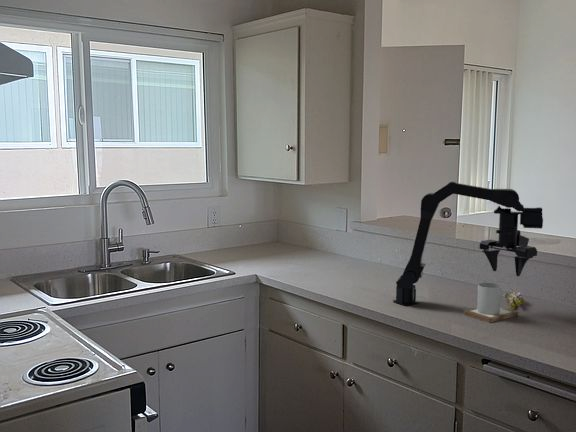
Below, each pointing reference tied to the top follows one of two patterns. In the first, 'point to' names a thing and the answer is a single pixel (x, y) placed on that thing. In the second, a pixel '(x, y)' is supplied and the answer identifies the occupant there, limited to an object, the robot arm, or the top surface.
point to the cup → (489, 298)
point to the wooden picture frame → (491, 318)
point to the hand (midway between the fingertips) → (506, 273)
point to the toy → (514, 299)
